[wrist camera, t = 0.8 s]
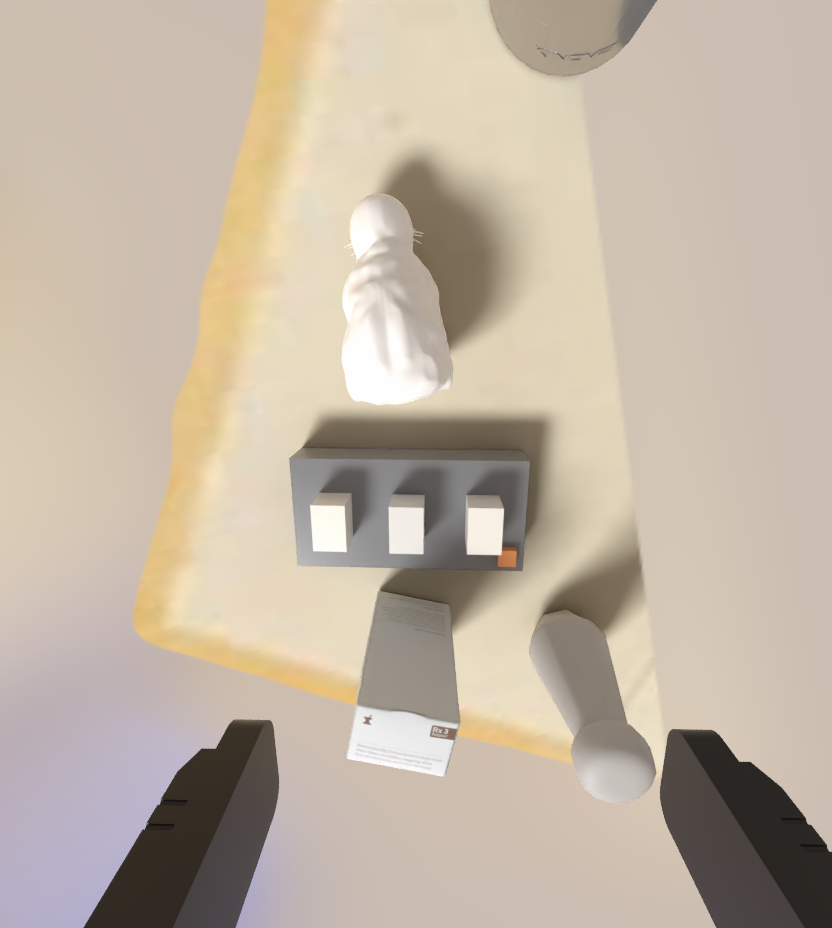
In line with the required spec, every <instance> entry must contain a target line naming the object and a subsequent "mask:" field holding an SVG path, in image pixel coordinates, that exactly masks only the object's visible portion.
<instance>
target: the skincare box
mask: <svg viewBox="0 0 832 928" xmlns="http://www.w3.org/2000/svg"><path fill="white" fill-rule="evenodd" d="M459 726H460V713H459V704H458V695H457V683H456V672H455V660H454V649H453V638H452V626H451V614H450V606H449V605H447V604H443V603H438V602H433V601H427V600H422V599H417V598H412V597H408V596H403V595H398V594H393V593H388V592H382V591H378V593H377V597H376V602H375V607H374V611H373V616H372V621H371V626H370V632H369V637H368V642H367V646H366V651H365V656H364V660H363V665H362V670H361V676H360V682H359V688H358V694H357V700H356V705H355V711H354V717H353V721H352V729H351V733H350V738H349V742H348V747H347V753H346V757H347V758H348V759H352V760H357V761H363V762H369V763H375V764H379V765H385V766H390V767H396V768H401V769H406V770H412V771H418V772H423V773H428V774H434V775H438V776H445V775H446V772H447V768H448V764H449V761H450V757H451V753H452V749H453V746H454V743H455V739H456V736H457V732H458V729H459Z"/></svg>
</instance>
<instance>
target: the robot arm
mask: <svg viewBox="0 0 832 928" xmlns="http://www.w3.org/2000/svg"><path fill="white" fill-rule="evenodd" d="M656 1H657V0H490V7H491V12H492V15H493V18H494V21H495V24H496V27H497V30H498V32H499V34H500V35H501V37H502V39H503V41H504V42H505V44H506V46H507V47H508V48H509V49H510V50H511V52H512V53H513V54H514V55H515V56H516V57H517V58H518V59H519V60H520V61H522V62H523V63H525V64H526V65H528V66H529V67H530V68H532V69H534V70H537V71H540V72H542V73H545V74H548V75H557V76H570V75H577V74H583V73H585V72H587V71H590V70H593V69H595V68H598V67H599V66H601V65H602V64H604V63H605V62H607V61H608V60H610V59H611V58H613V57H614V56H615V55H616V54H617V53H618V52H619V51H620V50H621V49H622V48H623V47H624V46H625V45H626V44H627V43H628V42H629V41H630V40H631V38H632V37H633V35H634V34H635V32H636V31H637V29H638V28H639V27H640V25H641V23H642V22H643V20H644V19H645V18H646V16H647V14H648V13H649V12H650V10H651V9H652V7H653V6H654V4H655V2H656ZM278 791H279V774H278V765H277V756H276V747H275V738H274V729H273V724H272V722H271V721H270V720H233V721H232V722H231V723H230V724H229V726H228V727H227V729H226V731H225V733H224V735H223V737H222V739H221V740H220V742H219V744H218V746H217V748H216V749H201V750H200V751H199V752H198V753H197V754H196V755H195V756H194V757H193V758H192V759H190V760H189V761H188V762H187V763H186V764H185V765H184V766H183V767H182V768H181V769H180V770H179V771H178V772H177V774H176V775H175V777H174V779H173V780H172V782H171V784H170V785H169V787H168V788H167V790H166V792H165V793H164V795H163V797H162V799H161V803H160V805H157V807H156V808H155V810H154V812H153V813H152V815H151V817H150V818H149V820H148V822H147V825H146V828H145V830H142V832H141V833H140V835H139V837H138V838H137V840H136V842H135V843H134V845H133V847H132V848H131V850H130V852H129V853H128V855H127V857H126V858H125V860H124V862H123V863H122V865H121V866H120V868H119V870H118V872H117V873H116V875H115V876H114V878H113V880H112V881H111V883H110V885H109V886H108V888H107V890H106V891H105V893H104V895H103V896H102V898H101V900H100V901H99V903H98V905H97V906H96V908H95V910H94V911H93V913H92V915H91V916H90V918H89V920H88V921H87V923H86V925H85V926H84V928H235V927H236V924H237V922H238V919H239V916H240V913H241V910H242V907H243V904H244V901H245V898H246V895H247V892H248V889H249V886H250V883H251V880H252V878H253V875H254V872H255V869H256V866H257V863H258V860H259V857H260V854H261V851H262V848H263V845H264V842H265V840H266V837H267V833H268V831H269V828H270V825H271V822H272V819H273V816H274V813H275V809H276V804H277V799H278ZM660 800H661V806H662V811H663V815H664V818H665V821H666V824H667V826H668V829H669V831H670V833H671V835H672V837H673V839H674V841H675V843H676V845H677V847H678V849H679V852H680V854H681V856H682V858H683V860H684V862H685V864H686V866H687V868H688V870H689V872H690V874H691V876H692V878H693V880H694V882H695V885H696V887H697V889H698V891H699V893H700V895H701V897H702V899H703V901H704V903H705V905H706V907H707V909H708V911H709V913H710V916H711V918H712V920H713V922H714V924H715V926H716V928H832V852H829V851H828V849H827V845H826V844H825V842H824V841H823V840H822V838H821V837H820V836H819V834H818V833H817V832H816V831H815V829H814V828H813V827H812V826H811V825H808V824H807V822H806V818H805V817H804V816H803V814H802V813H801V812H800V810H799V809H798V808H797V807H796V805H795V804H794V803H793V802H792V800H791V799H790V798H789V796H788V795H787V794H786V792H785V791H784V790H783V789H782V788H781V787H780V786H779V785H778V784H777V783H775V782H774V781H773V780H772V779H771V778H769V777H768V776H767V775H765V774H764V773H763V772H762V771H761V770H760V769H758V768H757V767H756V766H755V765H753V764H752V763H751V762H739V761H738V760H737V758H736V757H735V756H734V754H733V753H732V752H731V750H730V749H729V748H728V746H727V745H726V743H725V742H724V741H723V739H722V738H721V737H720V736H719V735H718V734H717V733H716V732H715V731H712V730H683V729H672V730H671V731H670V732H669V735H668V738H667V745H666V752H665V759H664V765H663V772H662V779H661V786H660Z"/></svg>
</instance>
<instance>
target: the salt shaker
mask: <svg viewBox="0 0 832 928" xmlns="http://www.w3.org/2000/svg"><path fill="white" fill-rule="evenodd" d="M529 654H530V657H531V660H532V664H533V667H534V669H535V670H536V672H537V674H538V676H539V677H540V679H541V681H542V683H543V684H544V686H545V688H546V689H547V691H548V693H549V695H550V696H551V698H552V700H553V701H554V703H555V705H556V707H557V708H558V710H559V712H560V713H561V715H562V717H563V719H564V720H565V722H566V724H567V725H568V727H569V729H570V731H571V732H572V734H573V736H574V737H575V738H574V741H573V744H572V748H571V756H572V760H573V764H574V767H575V770H576V774H577V777H578V779H579V781H580V782H581V784H582V786H583V788H584V789H585V790H587V791H588V792H589V793H590V794H591V795H592V796H593V797H595V798H597V799H600V800H603V801H606V802H609V803H628V802H630V801H633V800H635V799H638V798H640V797H641V796H642V795H643V794H644V793H645V792H647V791H648V790H649V788H650V787H651V786H652V784H653V781H654V778H655V775H656V769H655V764H654V759H653V756H652V753H651V749H650V747H649V746H648V744H647V742H646V741H645V739H644V738H643V737H642V736H641V735H640V734H639V733H638V732H637V731H636V730H635V729H634V728H633V727H632V726H631V725H629V724H627V720H626V716H625V712H624V708H623V704H622V700H621V696H620V692H619V688H618V684H617V680H616V676H615V672H614V668H613V664H612V660H611V656H610V652H609V648H608V644H607V640H606V636H605V635H604V634H603V632H602V631H601V630H600V629H599V628H598V627H597V626H596V625H595V624H594V623H593V622H592V621H590V620H587V619H585V618H582V617H580V616H577V615H575V614H573V613H572V612H570V611H568V610H567V609H564V610H560V611H556V612H552V613H548V614H544V615H543V616H542V618H541V620H540V622H539V624H538V626H537V627H536V629H535V631H534V633H533V635H532V639H531V643H530V647H529Z"/></svg>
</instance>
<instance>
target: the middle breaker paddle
mask: <svg viewBox="0 0 832 928" xmlns="http://www.w3.org/2000/svg"><path fill="white" fill-rule="evenodd" d="M424 532H425V495H405V494H392V497H391V500H390V504H389V554H423V553H424Z"/></svg>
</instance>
